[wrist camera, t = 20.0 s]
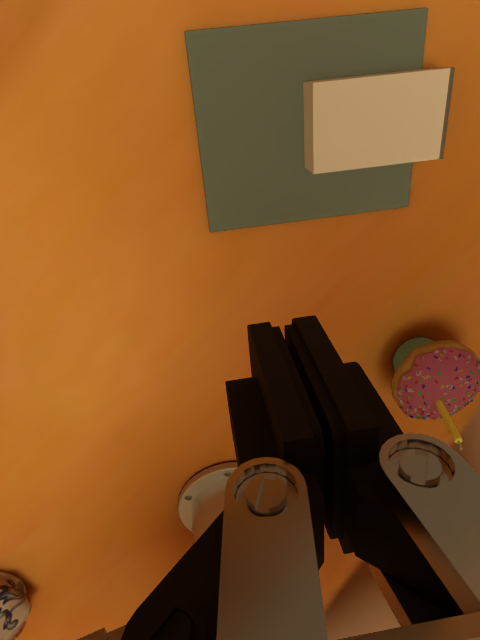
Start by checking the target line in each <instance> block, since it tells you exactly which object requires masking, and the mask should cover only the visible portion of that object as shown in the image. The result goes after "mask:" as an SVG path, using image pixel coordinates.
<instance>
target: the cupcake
mask: <svg viewBox="0 0 480 640" xmlns="http://www.w3.org/2000/svg"><path fill="white" fill-rule="evenodd" d="M393 366H394V370H395V374H394V376H393V378H392V381H391V388H392V395H393V397H394V399H395V401H396V402H397V404H398V406H399V408H401V409H402V411H403V412H404V413H405V414H406V416H407V415H408V416H407V417H409V415H410V417H411V418H413V417H414V418H416V419H418V418H419V419H421V418H422V419H423V420H424V419H425V420H429V419H433V420H436V419H440V418H443V420H444V422H445V424H446V426H447V428H448V430H449V432H450V434H451V436H452V438H453V440H454V442H455V443H458V445H459V447H460V450H462V446H461V444H460V443H461V442H462V438H461V436H460V434H459V432H458V430H457V428H456V426H455V424H454V423H453V421H452V419H451V417H450V416H452V415H453V414H455V413H457V412H458V411H460V410H461V409H463V408H464V407H465V406H466V405H468V404H469V402H471V401H473V398H474V396H475V395H476V394H477V392H479V390H480V389H479V388H480V361H479V359H478V357H477V355H476V354H475V353H474V352H473V351H472V350H470V349H469V348H467V347H466V346H464V345H462V344H461V343H460V342H458V341H456V340H440V341H433V340H431V339H429V338H425V337H417V338H413V339H410V340H408V341H406V342H405V343H403V344H402V345H401V346H400V347H399V348H398V349H397V351H396V352H395V354H394V357H393Z"/></svg>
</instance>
